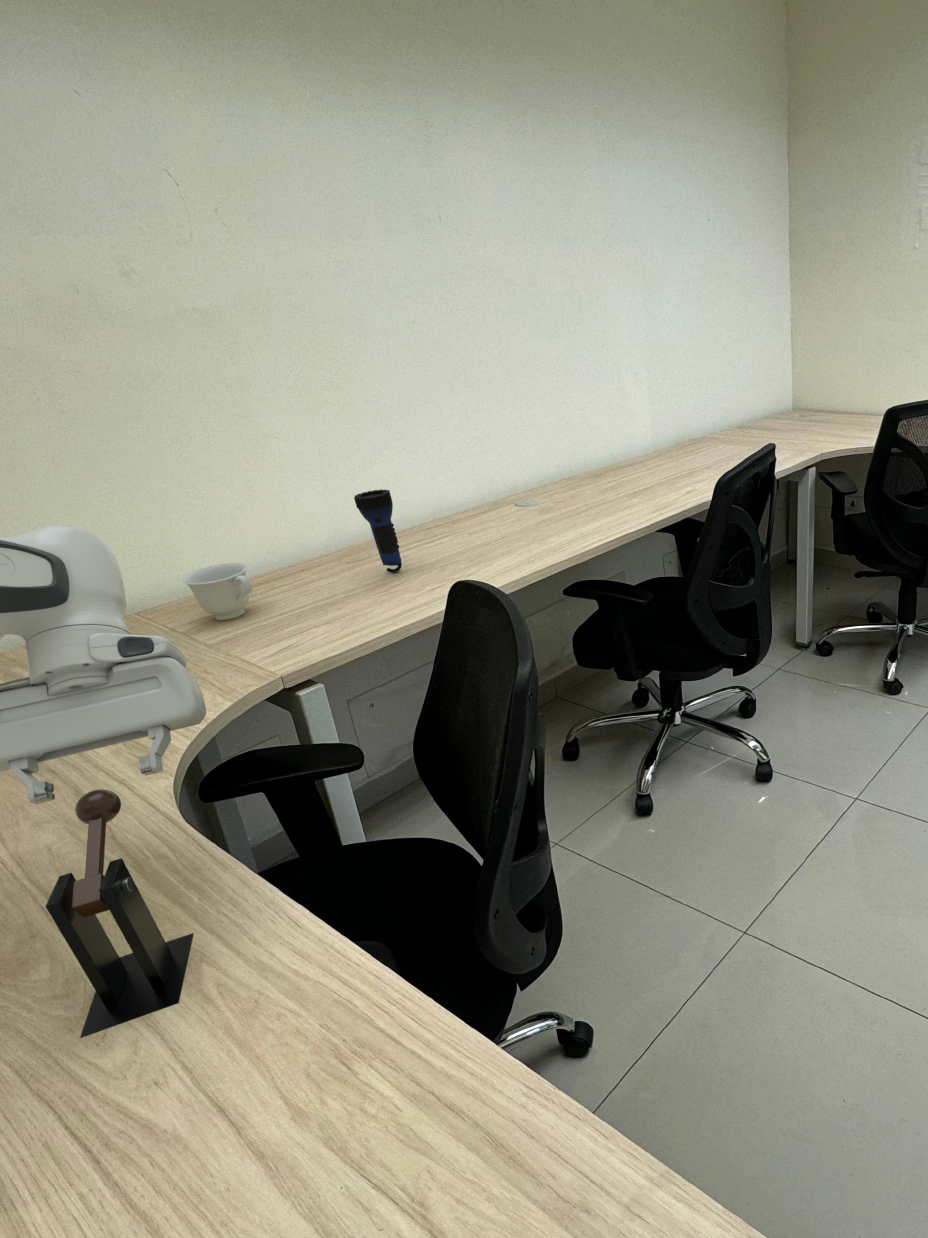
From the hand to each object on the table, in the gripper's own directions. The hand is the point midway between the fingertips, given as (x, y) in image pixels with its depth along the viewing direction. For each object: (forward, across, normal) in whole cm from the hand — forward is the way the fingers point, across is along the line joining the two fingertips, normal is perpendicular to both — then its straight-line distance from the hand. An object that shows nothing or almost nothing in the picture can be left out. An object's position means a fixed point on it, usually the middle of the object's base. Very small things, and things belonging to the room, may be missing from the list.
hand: (98, 786), depth 79 cm
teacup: (-57, -2, +83) cm, 101 cm away
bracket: (+21, 0, +5) cm, 22 cm away
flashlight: (-63, +31, +90) cm, 114 cm away
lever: (+7, 0, 0) cm, 7 cm away
